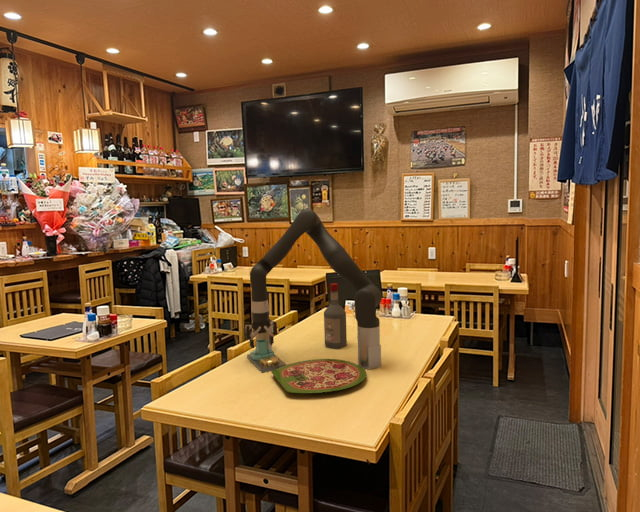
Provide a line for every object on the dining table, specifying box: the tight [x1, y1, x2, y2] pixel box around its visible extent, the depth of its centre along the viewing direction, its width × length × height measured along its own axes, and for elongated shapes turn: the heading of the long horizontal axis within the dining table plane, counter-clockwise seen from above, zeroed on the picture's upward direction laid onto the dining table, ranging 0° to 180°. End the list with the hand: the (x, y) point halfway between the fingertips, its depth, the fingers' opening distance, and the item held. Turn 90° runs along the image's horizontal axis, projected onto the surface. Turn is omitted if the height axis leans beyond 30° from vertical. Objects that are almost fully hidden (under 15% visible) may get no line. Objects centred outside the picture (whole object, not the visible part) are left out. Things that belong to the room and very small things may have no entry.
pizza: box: [271, 358, 367, 394], centre depth 185 cm, size 35×35×2 cm
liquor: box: [323, 282, 348, 350], centre depth 225 cm, size 9×9×30 cm
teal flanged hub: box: [249, 339, 276, 360], centre depth 210 cm, size 10×10×7 cm
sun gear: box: [260, 356, 280, 366], centre depth 201 cm, size 8×8×2 cm
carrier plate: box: [246, 353, 288, 373], centre depth 205 cm, size 21×11×6 cm, turn 25°
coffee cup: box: [254, 318, 273, 351], centre depth 222 cm, size 9×9×15 cm
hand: (261, 346), depth 209 cm, fingers open, 8 cm apart
